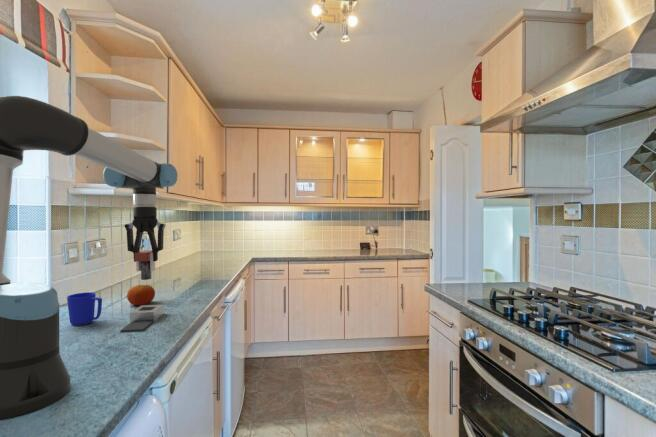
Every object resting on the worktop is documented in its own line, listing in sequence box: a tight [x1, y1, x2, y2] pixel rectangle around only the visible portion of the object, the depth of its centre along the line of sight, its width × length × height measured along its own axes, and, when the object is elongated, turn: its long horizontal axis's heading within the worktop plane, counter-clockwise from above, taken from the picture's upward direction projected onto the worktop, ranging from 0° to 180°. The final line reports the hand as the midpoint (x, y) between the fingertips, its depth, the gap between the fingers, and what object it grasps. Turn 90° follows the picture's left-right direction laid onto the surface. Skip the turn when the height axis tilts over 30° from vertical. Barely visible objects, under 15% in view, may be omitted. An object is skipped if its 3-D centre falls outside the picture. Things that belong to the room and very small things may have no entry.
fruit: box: [126, 284, 156, 306], centre depth 147 cm, size 11×10×8 cm
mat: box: [120, 321, 154, 333], centre depth 118 cm, size 9×7×1 cm
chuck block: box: [129, 304, 165, 324], centre depth 127 cm, size 10×8×4 cm
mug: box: [66, 292, 103, 326], centre depth 122 cm, size 8×12×10 cm
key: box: [134, 249, 152, 281], centre depth 127 cm, size 4×9×10 cm, turn 7°
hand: (146, 270), depth 127 cm, fingers closed on key, 4 cm apart
